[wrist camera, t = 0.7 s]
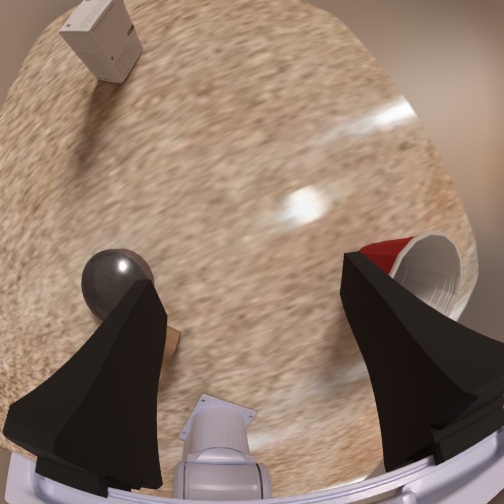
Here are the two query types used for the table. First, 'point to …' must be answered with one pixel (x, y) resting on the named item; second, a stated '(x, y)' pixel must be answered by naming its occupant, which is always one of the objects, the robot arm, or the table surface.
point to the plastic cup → (422, 266)
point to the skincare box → (103, 38)
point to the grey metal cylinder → (111, 278)
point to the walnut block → (169, 348)
